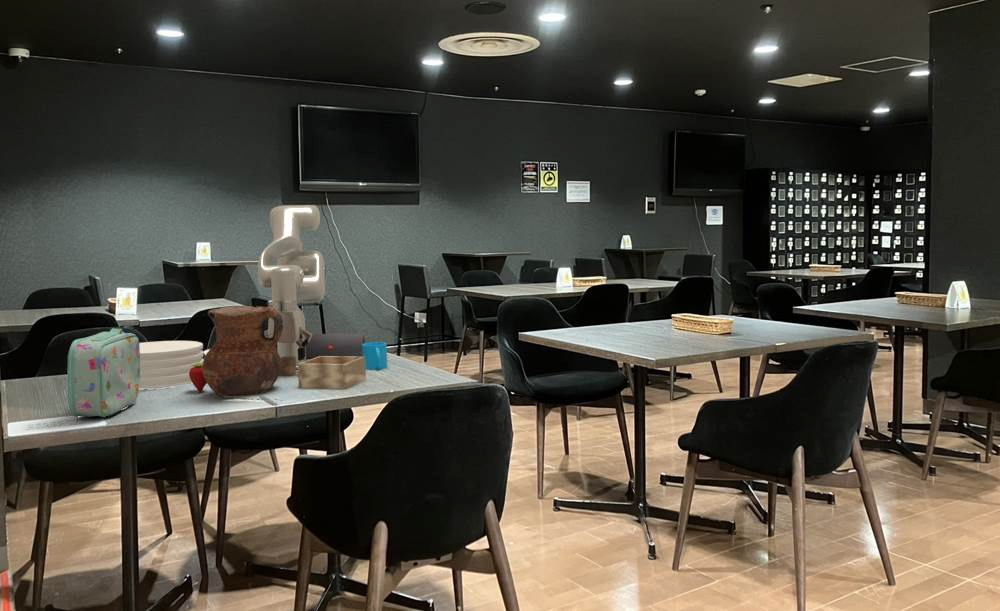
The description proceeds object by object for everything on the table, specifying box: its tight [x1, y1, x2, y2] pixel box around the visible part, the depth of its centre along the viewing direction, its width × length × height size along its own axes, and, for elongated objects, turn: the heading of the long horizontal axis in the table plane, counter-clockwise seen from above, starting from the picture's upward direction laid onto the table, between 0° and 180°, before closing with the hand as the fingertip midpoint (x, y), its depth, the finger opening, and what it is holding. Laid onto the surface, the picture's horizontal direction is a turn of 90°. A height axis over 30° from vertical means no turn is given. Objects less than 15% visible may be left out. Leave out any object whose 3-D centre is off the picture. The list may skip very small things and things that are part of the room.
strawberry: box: [189, 357, 208, 392], centre depth 245 cm, size 6×8×10 cm
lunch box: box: [66, 327, 140, 418], centre depth 219 cm, size 27×10×21 cm, turn 4°
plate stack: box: [139, 340, 205, 388], centre depth 262 cm, size 28×28×12 cm
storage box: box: [297, 356, 367, 390], centre depth 248 cm, size 15×15×8 cm
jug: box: [202, 305, 283, 399], centre depth 239 cm, size 22×21×25 cm
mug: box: [362, 341, 388, 371], centre depth 280 cm, size 12×8×8 cm
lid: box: [278, 356, 298, 377], centre depth 265 cm, size 16×16×7 cm
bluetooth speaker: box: [306, 333, 366, 360], centre depth 298 cm, size 23×9×10 cm, turn 95°
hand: (287, 359), depth 266 cm, fingers open, 9 cm apart
